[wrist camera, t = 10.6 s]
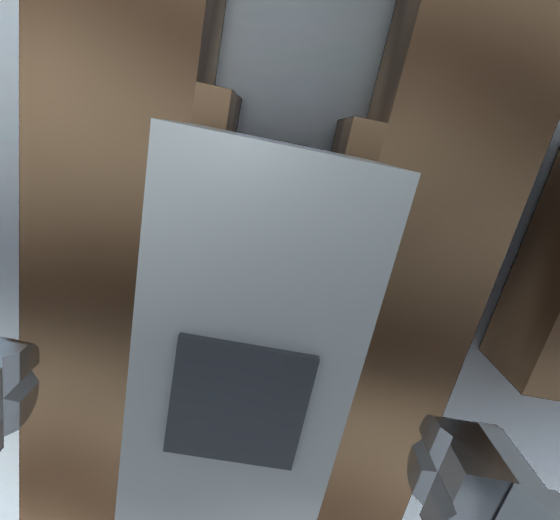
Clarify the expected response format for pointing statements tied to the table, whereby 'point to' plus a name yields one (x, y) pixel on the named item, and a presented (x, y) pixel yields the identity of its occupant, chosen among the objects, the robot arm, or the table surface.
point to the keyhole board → (224, 115)
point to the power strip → (250, 321)
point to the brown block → (532, 304)
